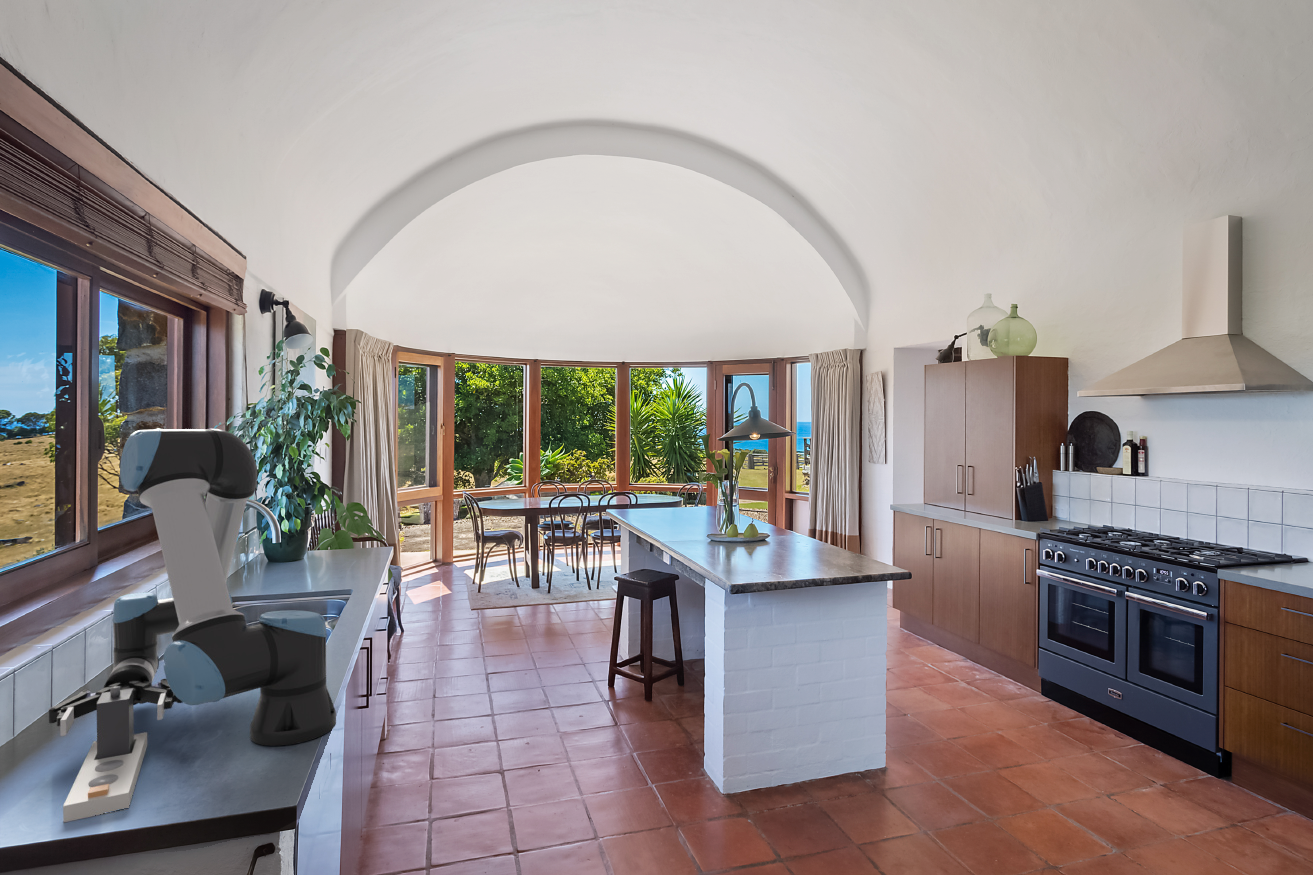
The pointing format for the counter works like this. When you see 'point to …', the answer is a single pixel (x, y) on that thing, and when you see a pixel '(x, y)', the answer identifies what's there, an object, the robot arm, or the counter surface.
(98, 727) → the grey block with knob
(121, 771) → the power strip
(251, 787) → the counter surface
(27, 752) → the counter surface
